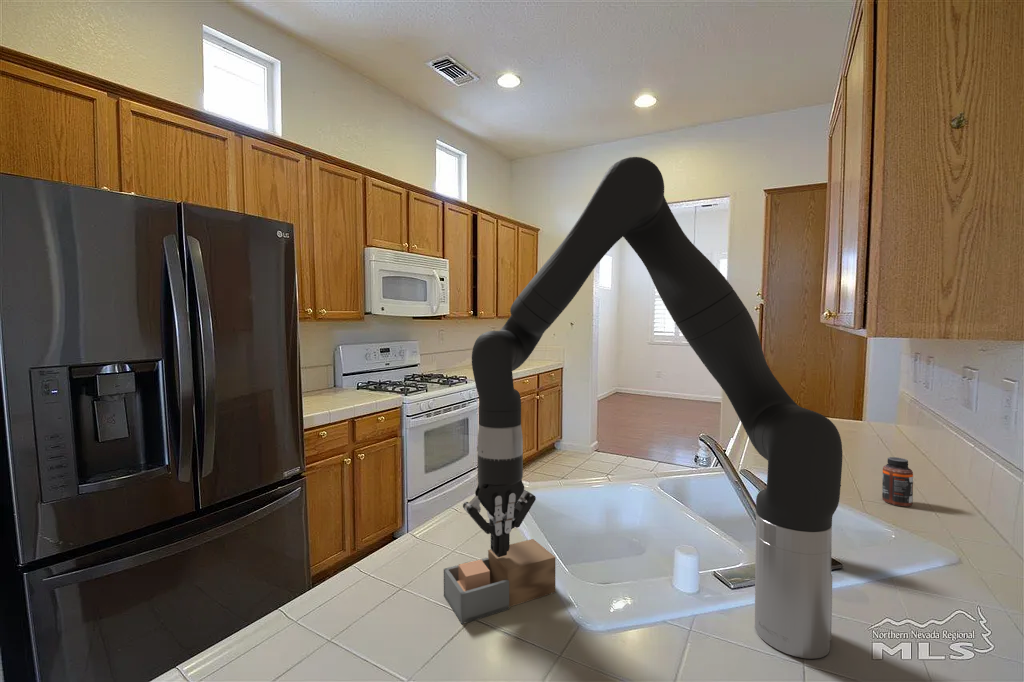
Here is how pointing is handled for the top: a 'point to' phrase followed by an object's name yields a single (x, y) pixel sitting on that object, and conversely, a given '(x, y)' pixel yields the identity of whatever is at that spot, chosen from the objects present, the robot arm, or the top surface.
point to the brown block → (524, 571)
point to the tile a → (473, 575)
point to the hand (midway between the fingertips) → (500, 554)
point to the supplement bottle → (897, 482)
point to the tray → (475, 596)
